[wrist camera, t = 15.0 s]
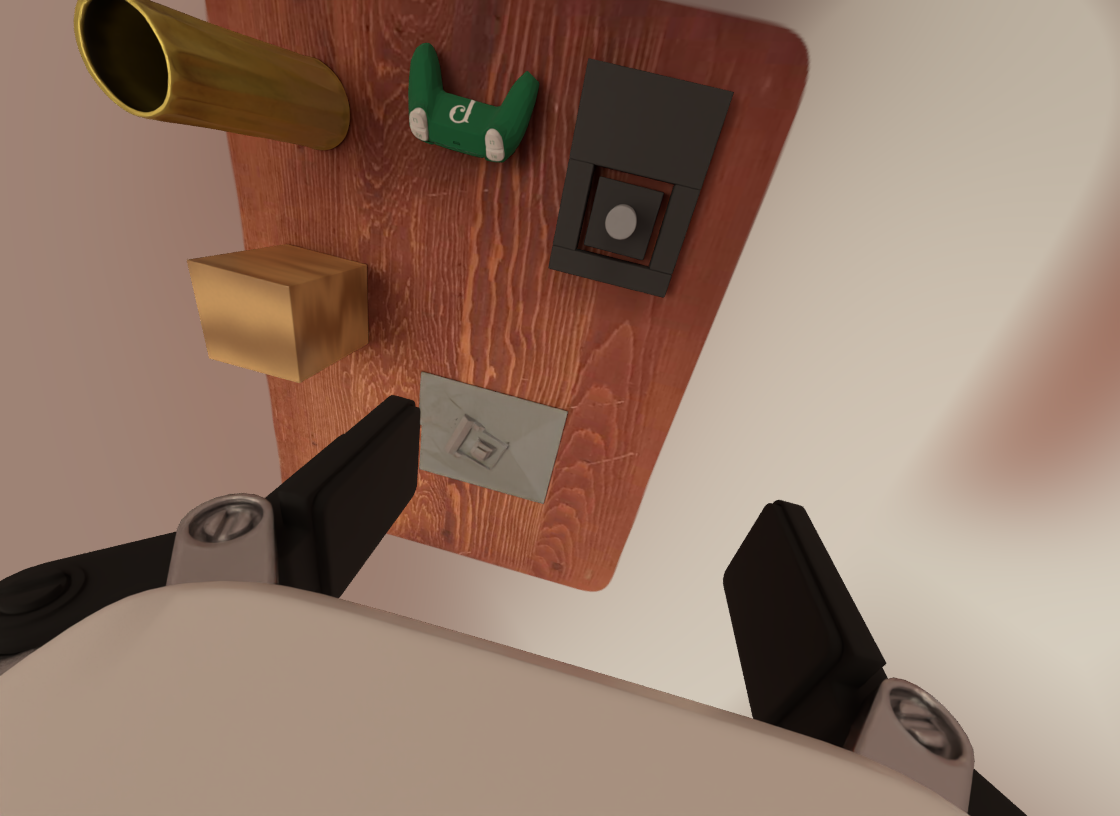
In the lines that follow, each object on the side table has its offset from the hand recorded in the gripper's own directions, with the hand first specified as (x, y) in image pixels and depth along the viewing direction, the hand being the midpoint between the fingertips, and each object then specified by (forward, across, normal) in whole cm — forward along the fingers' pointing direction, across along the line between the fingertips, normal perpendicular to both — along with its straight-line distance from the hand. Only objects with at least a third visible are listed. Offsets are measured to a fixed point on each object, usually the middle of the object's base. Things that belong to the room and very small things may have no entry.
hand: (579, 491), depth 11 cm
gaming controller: (+28, +14, -10) cm, 33 cm away
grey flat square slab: (+28, +14, +22) cm, 39 cm away
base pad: (+28, +1, -7) cm, 29 cm away
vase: (+28, +27, -8) cm, 40 cm away
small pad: (+28, +1, -5) cm, 29 cm away
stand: (+28, +27, +8) cm, 40 cm away
